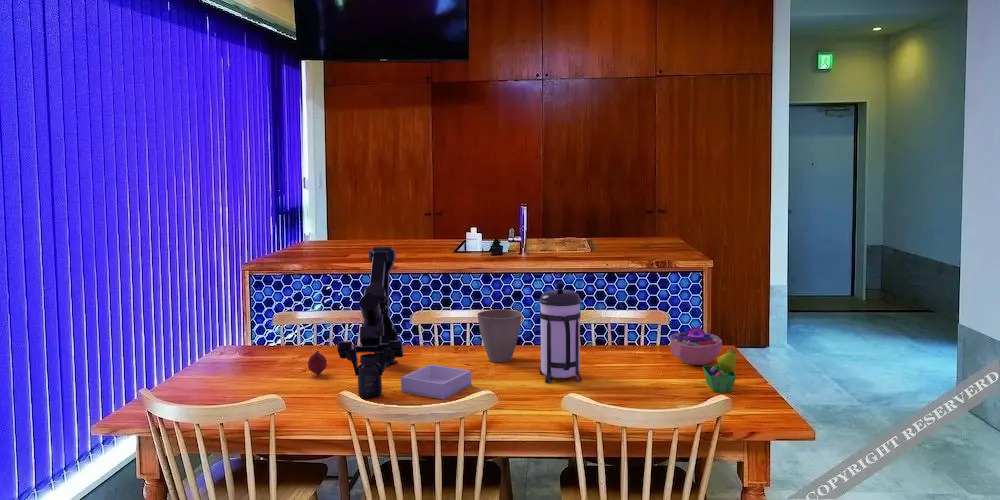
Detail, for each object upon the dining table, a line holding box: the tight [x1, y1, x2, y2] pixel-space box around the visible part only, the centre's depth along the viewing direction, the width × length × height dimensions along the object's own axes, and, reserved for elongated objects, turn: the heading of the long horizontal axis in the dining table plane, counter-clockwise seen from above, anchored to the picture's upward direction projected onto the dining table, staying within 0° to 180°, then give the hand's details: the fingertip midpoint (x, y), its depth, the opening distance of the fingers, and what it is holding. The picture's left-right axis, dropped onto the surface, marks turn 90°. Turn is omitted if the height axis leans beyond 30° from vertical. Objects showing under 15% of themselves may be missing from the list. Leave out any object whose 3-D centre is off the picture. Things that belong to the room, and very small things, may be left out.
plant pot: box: [477, 309, 523, 363], centre depth 258 cm, size 15×15×16 cm
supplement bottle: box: [357, 353, 383, 400], centre depth 222 cm, size 7×7×12 cm
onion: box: [307, 349, 328, 376], centre depth 244 cm, size 6×6×8 cm
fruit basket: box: [702, 349, 738, 393], centre depth 225 cm, size 11×9×11 cm
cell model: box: [669, 326, 723, 366], centre depth 251 cm, size 17×20×11 cm
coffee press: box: [538, 282, 583, 384], centre depth 234 cm, size 17×16×30 cm
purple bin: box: [400, 364, 472, 400], centre depth 228 cm, size 15×15×4 cm
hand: (368, 375), depth 221 cm, fingers closed on supplement bottle, 7 cm apart
